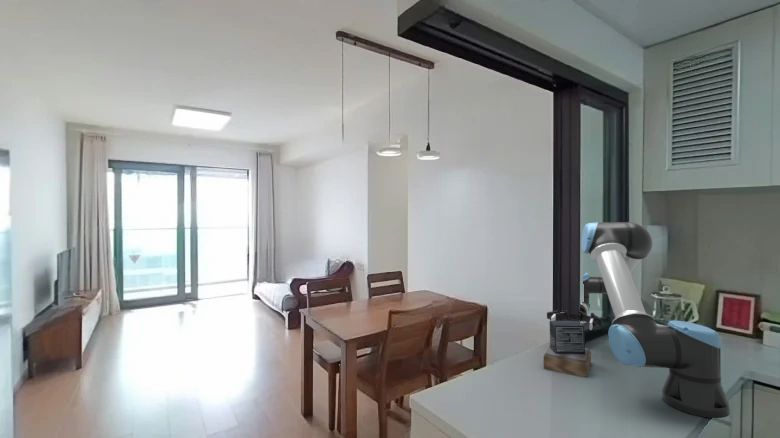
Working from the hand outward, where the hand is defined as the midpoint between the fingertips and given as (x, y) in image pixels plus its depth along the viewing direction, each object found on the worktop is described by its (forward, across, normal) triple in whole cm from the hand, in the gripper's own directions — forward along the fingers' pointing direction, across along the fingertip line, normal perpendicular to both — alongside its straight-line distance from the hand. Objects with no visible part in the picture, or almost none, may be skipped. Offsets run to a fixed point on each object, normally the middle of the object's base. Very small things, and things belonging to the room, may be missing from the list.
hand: (570, 323), depth 143 cm
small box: (+10, 0, -8) cm, 12 cm away
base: (+10, 0, -13) cm, 16 cm away
